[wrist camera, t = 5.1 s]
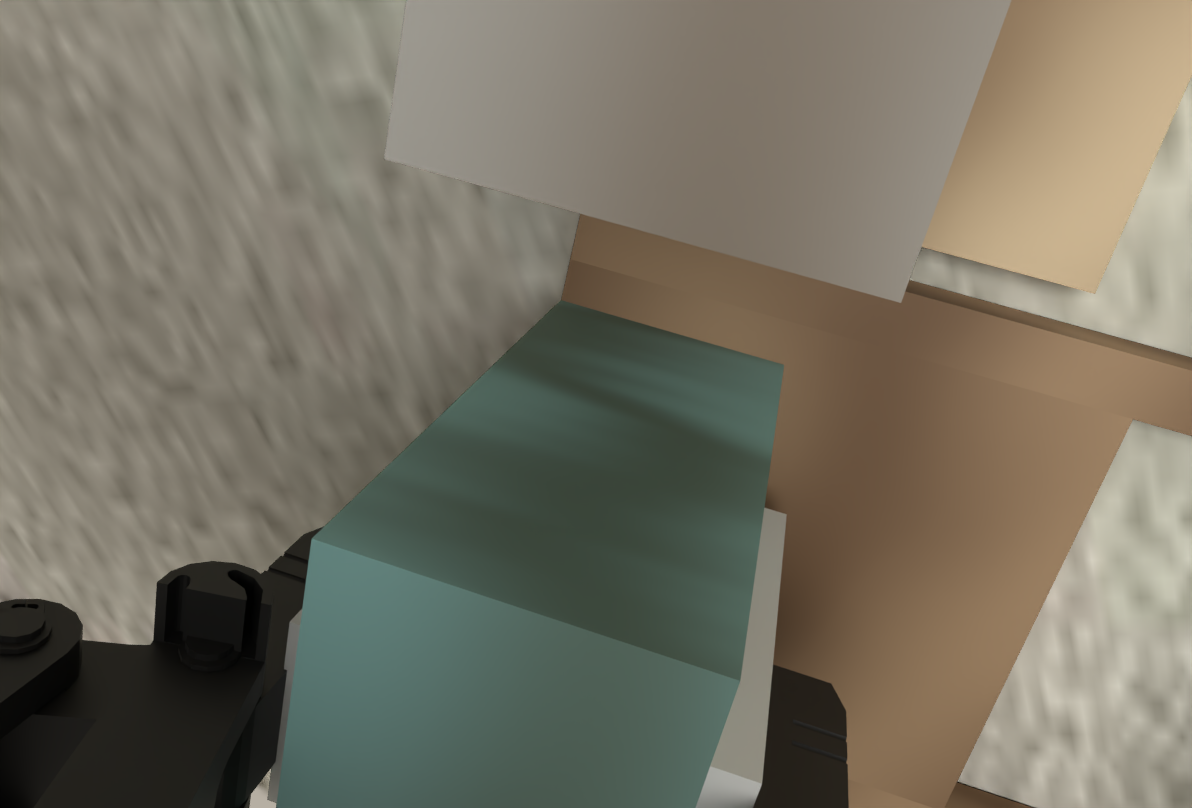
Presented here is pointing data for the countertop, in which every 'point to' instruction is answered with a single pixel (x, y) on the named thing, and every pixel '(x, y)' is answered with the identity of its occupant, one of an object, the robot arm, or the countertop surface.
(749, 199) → the broken strip
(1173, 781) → the countertop surface
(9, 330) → the countertop surface
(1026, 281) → the countertop surface
